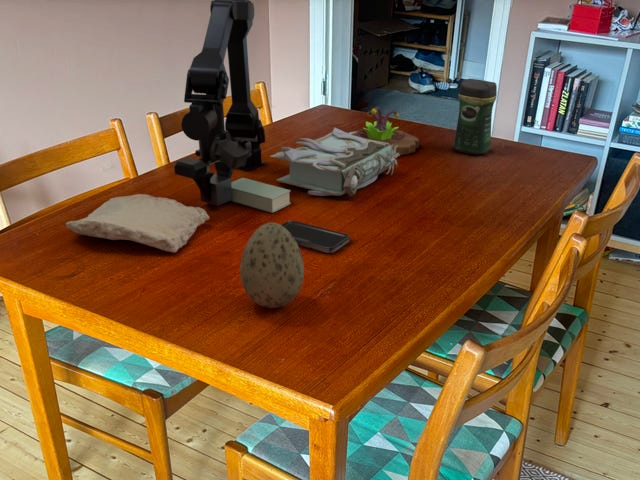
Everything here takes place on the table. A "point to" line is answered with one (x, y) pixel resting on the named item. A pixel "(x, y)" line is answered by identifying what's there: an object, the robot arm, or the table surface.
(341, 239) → the phone
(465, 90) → the coffee jar
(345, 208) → the table surface
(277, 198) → the pocket book
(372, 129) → the plant
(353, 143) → the ornate book
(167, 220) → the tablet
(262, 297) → the decorative egg
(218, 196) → the block
